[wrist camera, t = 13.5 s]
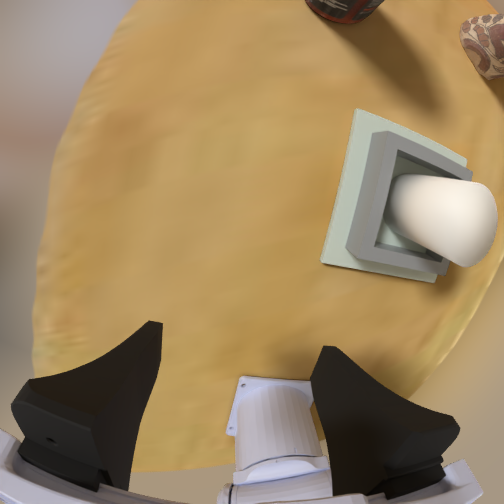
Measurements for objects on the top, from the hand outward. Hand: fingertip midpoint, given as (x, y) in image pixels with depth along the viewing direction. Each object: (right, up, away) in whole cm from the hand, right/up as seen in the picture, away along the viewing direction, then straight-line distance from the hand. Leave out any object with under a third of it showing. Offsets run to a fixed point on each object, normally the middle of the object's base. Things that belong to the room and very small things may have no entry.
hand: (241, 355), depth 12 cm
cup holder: (+13, +8, +9) cm, 18 cm away
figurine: (+25, +26, +4) cm, 36 cm away
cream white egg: (+13, +8, +8) cm, 17 cm away
